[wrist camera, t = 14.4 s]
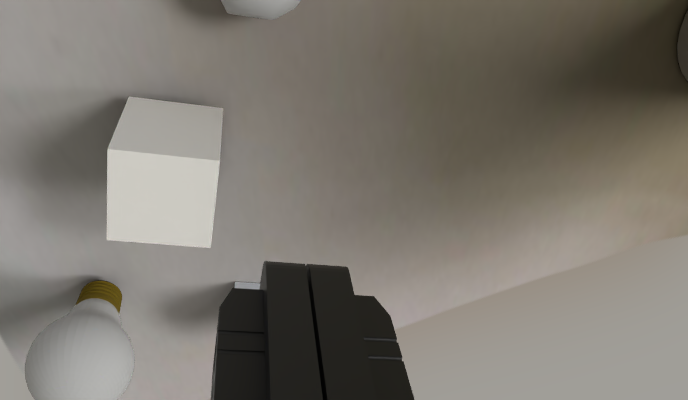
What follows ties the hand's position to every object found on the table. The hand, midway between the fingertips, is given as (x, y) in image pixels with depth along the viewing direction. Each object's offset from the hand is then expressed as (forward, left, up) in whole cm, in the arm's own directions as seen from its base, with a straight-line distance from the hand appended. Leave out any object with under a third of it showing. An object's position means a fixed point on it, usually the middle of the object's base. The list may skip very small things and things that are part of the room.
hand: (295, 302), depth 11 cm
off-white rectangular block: (+4, +10, -25) cm, 27 cm away
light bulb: (+8, +22, -27) cm, 35 cm away
